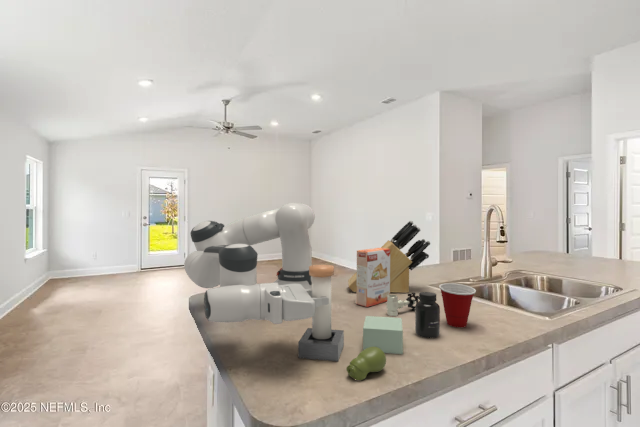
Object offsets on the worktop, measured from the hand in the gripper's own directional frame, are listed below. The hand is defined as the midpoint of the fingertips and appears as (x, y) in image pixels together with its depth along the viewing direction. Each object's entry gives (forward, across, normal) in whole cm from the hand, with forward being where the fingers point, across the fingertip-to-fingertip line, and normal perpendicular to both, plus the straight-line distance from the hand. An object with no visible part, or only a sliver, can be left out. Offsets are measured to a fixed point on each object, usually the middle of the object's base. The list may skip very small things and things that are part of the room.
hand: (325, 296), depth 89 cm
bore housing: (-1, 0, -14) cm, 14 cm away
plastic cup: (+45, -8, -14) cm, 48 cm away
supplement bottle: (+32, -4, -14) cm, 35 cm away
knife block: (+42, -54, -14) cm, 70 cm away
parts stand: (+16, 0, -14) cm, 21 cm away
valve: (+34, -24, -14) cm, 44 cm away
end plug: (-1, 0, -10) cm, 10 cm away
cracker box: (+29, -38, -14) cm, 50 cm away
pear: (+6, +14, -14) cm, 21 cm away
